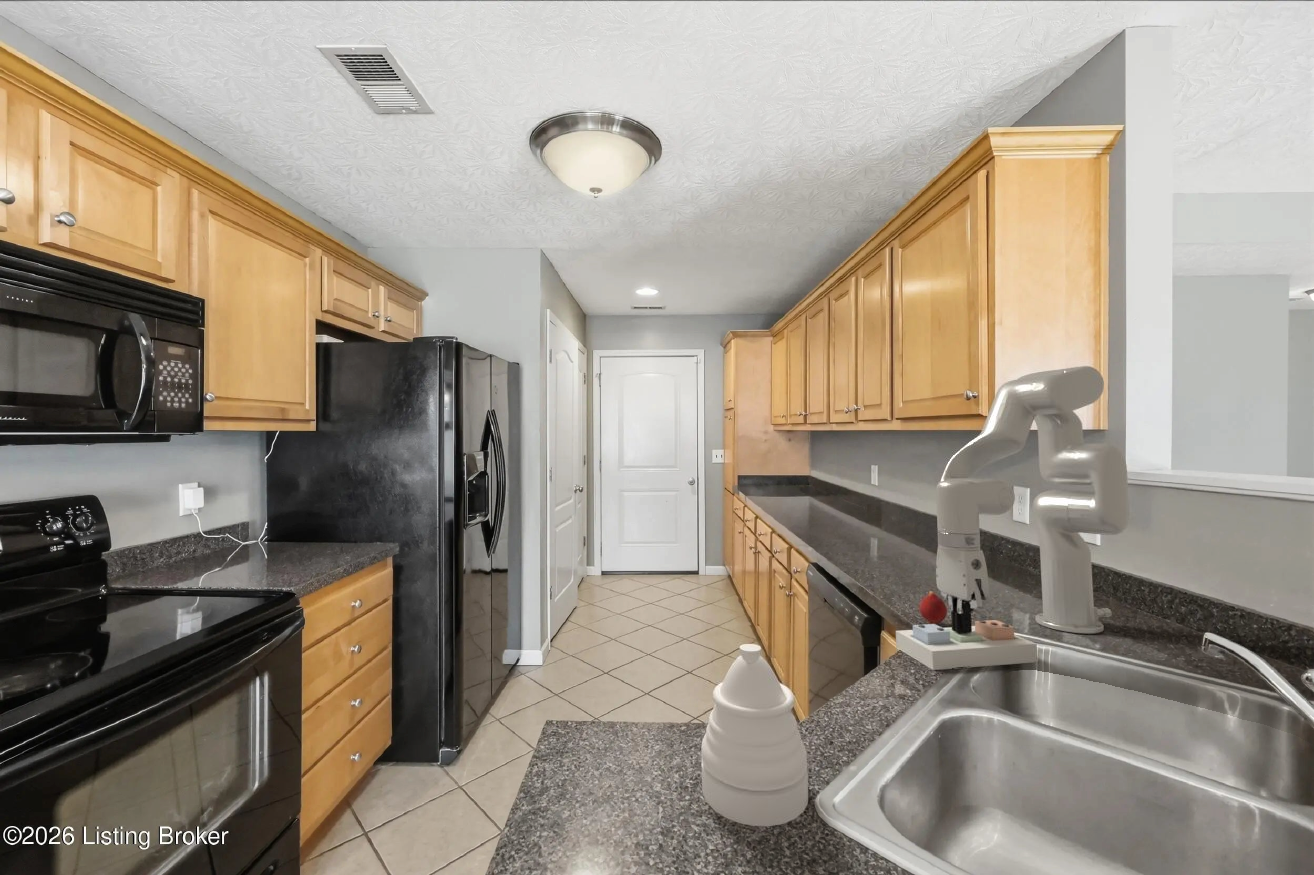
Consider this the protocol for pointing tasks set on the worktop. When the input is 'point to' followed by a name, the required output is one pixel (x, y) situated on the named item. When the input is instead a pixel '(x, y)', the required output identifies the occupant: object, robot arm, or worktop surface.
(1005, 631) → the key three
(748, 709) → the honey pot
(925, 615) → the onion
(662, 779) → the worktop surface
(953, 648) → the key board
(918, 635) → the key two
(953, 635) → the key one
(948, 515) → the robot arm
